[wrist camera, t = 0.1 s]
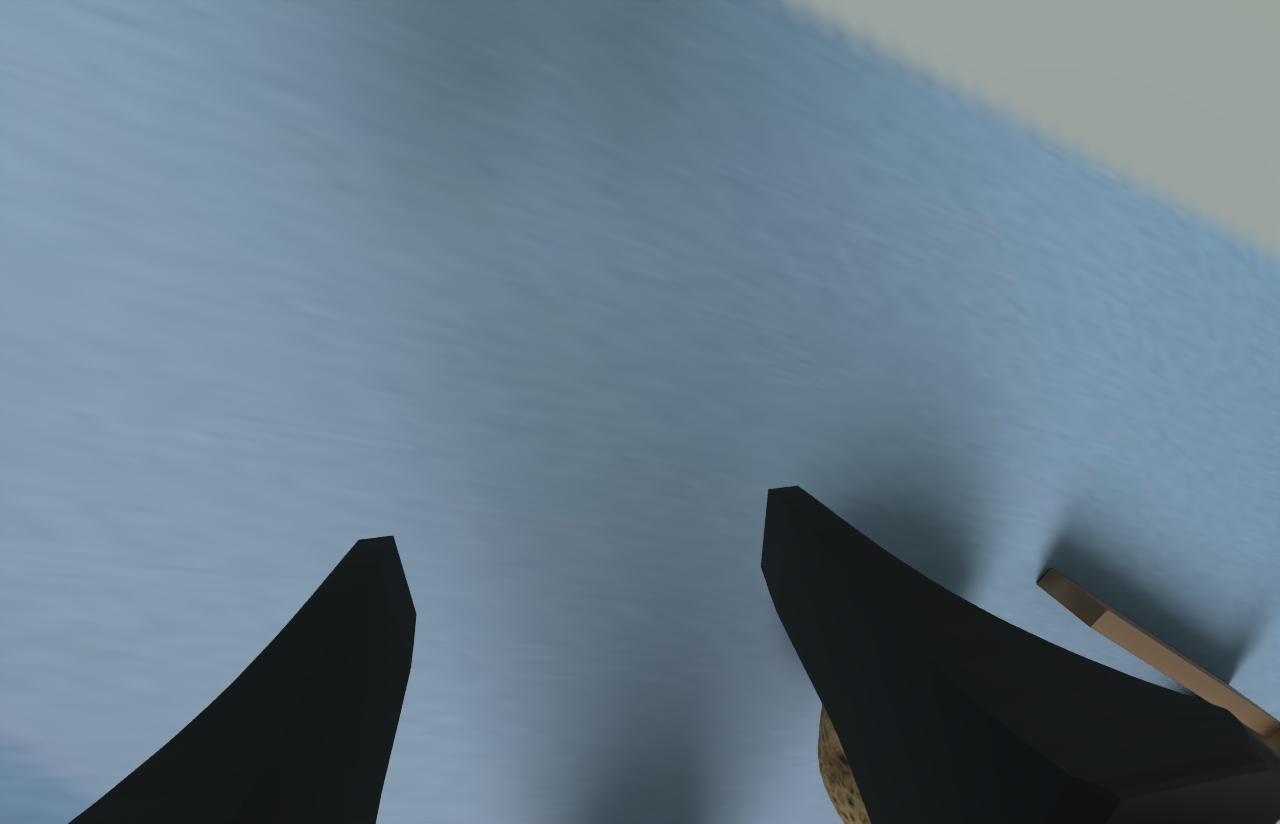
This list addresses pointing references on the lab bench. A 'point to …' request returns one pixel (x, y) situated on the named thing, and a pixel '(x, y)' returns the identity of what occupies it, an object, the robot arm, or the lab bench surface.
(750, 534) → the lab bench surface
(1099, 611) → the wooden u-shaped fence
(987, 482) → the lab bench surface
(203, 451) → the lab bench surface
